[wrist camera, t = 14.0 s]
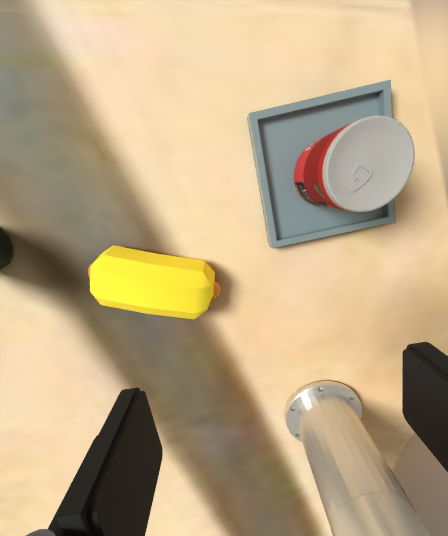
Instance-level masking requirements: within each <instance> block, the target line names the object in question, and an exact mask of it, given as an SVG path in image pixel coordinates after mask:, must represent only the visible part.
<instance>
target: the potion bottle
mask: <svg viewBox="0 0 448 536" xmlns="http://www.w3.org/2000/svg"><path fill="white" fill-rule="evenodd" d="M12 256H13V247H12V245H11V242H10V240H9V238H8V237H7V236H6V234H5V233H4V232H3V231H2V230H1V229H0V270H1V269H2V268H4V267H5V266H7V265H8V264H9V263H10V260H11V258H12Z"/></svg>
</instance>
